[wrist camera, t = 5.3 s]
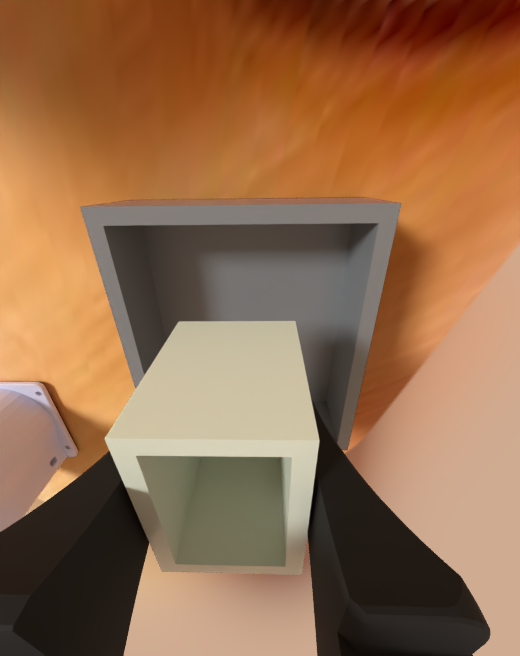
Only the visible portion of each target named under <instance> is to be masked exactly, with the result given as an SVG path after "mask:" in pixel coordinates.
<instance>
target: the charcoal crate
mask: <svg viewBox="0 0 520 656" xmlns="http://www.w3.org/2000/svg"><path fill="white" fill-rule="evenodd" d="M400 207H401V203H398V202H391V201H385V200H379V199H372V198H366V197H341V198H257V199H173V200H127V201H120V202H112V203H104V204H97V205H89V206H82V207H80V208H81V211H82V215H83V218H84V221H85V224H86V228H87V231H88V234H89V238H90V241H91V244H92V248H93V251H94V254H95V257H96V261H97V264H98V267H99V271H100V274H101V277H102V280H103V284H104V287H105V290H106V294H107V297H108V300H109V303H110V307H111V310H112V313H113V317H114V320H115V323H116V326H117V330H118V333H119V336H120V340H121V343H122V346H123V349H124V353H125V356H126V359H127V363H128V366H129V369H130V372H131V376H132V379H133V382H134V386H135V389H136V388H137V386H138V385H139V383H140V382H141V380H142V379H143V377H144V375H145V374H146V372H147V371H148V369H149V368H150V366H151V364H152V363H153V361H154V360H155V358H156V356H157V355H158V353H159V352H160V350H161V349H162V347H163V345H164V344H165V342H166V341H167V339H168V338H169V336H170V334H171V333H172V331H173V330H174V328H175V327H176V325H177V323H178V322H179V321H295V322H296V327H297V332H298V337H299V341H300V346H301V351H302V356H303V361H304V366H305V371H306V376H307V381H308V386H309V391H310V396H311V399H312V400H313V402H314V404H315V406H316V408H317V410H318V412H319V414H320V416H321V417H322V419H323V421H324V423H325V425H326V426H327V428H328V430H329V431H330V433H331V434H332V436H333V437H334V439H335V441H336V442H337V444H338V445H339V447H340V448H341V450H348V445H349V441H350V436H351V432H352V427H353V423H354V418H355V413H356V409H357V404H358V400H359V395H360V390H361V386H362V381H363V377H364V372H365V368H366V363H367V358H368V354H369V349H370V345H371V340H372V335H373V331H374V326H375V322H376V317H377V313H378V308H379V303H380V299H381V294H382V290H383V285H384V280H385V276H386V271H387V267H388V262H389V258H390V253H391V248H392V244H393V239H394V235H395V230H396V225H397V221H398V216H399V212H400Z"/></svg>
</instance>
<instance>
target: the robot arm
mask: <svg viewBox="0 0 520 656" xmlns="http://www.w3.org/2000/svg"><path fill="white" fill-rule="evenodd" d="M311 401H312V406H313V411H314V416H315V421H316V426H317V431H318V435H319V440H320V441H319V448H318V456H317V463H316V471H315V479H314V486H313V494H312V501H311V509H310V517H309V524H308V543H309V553H310V565H311V577H312V588H313V601H314V614H315V628H316V642H317V655H318V656H473V655H472V654H473V653H474V652H475V651H477V650H478V649H479V648H480V647H482V646H483V645H484V644H485V643H486V642H487V641H488V640H489V638H490V628H489V626H488V624H487V622H486V620H485V618H484V616H483V614H482V612H481V610H480V608H479V606H478V604H477V603H476V601H475V599H474V598H473V596H472V594H471V592H470V591H469V589H468V588H467V586H466V584H465V583H464V581H463V579H462V578H461V576H460V575H459V574H457V573H456V572H455V571H454V570H453V569H452V568H451V567H449V566H448V565H447V564H446V563H445V562H444V561H443V560H442V559H440V558H439V557H438V556H437V555H436V554H435V553H434V552H433V551H432V550H431V549H430V548H428V546H426V545H425V544H424V543H423V542H422V541H421V540H420V539H419V538H418V537H417V536H416V535H415V534H414V533H413V532H412V531H411V530H410V529H409V528H408V527H407V526H406V525H405V524H404V523H403V522H402V521H401V520H400V519H399V518H398V517H397V516H396V515H395V514H394V513H393V511H391V509H390V508H389V507H388V506H387V505H386V504H385V503H384V502H383V501H382V500H381V499H380V498H379V497H378V495H377V494H376V493H375V492H374V491H373V490H372V488H371V487H370V486H369V485H368V484H367V483H366V481H365V480H364V479H363V478H362V476H361V475H360V474H359V473H358V471H357V470H356V469H355V467H354V466H353V465H352V464H351V462H350V461H349V460H348V458H347V457H346V455H345V454H344V452H343V451H342V450H341V448H340V447H339V445H338V444H337V442H336V441H335V439H334V437H333V436H332V434H331V433H330V431H329V430H328V428H327V426H326V425H325V423H324V421H323V419H322V417H321V416H320V414H319V412H318V410H317V408H316V406H315V404H314V402H313V400H312V399H311ZM77 454H78V450H77V448H76V446H75V444H74V442H73V440H72V438H71V436H70V434H69V432H68V430H67V428H66V426H65V425H64V423H63V421H62V419H61V417H60V415H59V413H58V411H57V409H56V407H55V405H54V403H53V401H52V399H51V397H50V395H49V393H48V391H47V389H46V387H45V386H44V384H42V383H40V382H0V656H123V655H124V649H125V645H126V640H127V636H128V631H129V626H130V621H131V616H132V612H133V608H134V603H135V599H136V595H137V590H138V585H139V582H140V577H141V573H142V569H143V565H144V561H145V557H146V553H147V549H148V546H149V541H148V538H147V536H146V534H145V531H144V529H143V527H142V524H141V522H140V520H139V518H138V515H137V513H136V511H135V508H134V506H133V504H132V501H131V499H130V497H129V494H128V492H127V490H126V488H125V485H124V483H123V481H122V478H121V476H120V474H119V471H118V469H117V467H116V464H115V462H114V460H113V457H112V455H111V453H110V451H109V452H108V453H106V454H105V455H104V456H103V457H102V458H101V459H100V460H99V461H97V462H96V463H95V464H94V465H93V466H92V467H90V468H89V469H88V470H87V471H86V472H84V473H83V474H82V475H81V476H80V477H78V478H77V479H76V480H74V481H73V482H72V483H70V484H69V485H68V486H66V487H65V488H64V489H62V490H61V491H60V492H58V493H57V494H56V495H54V496H53V497H51V498H50V499H49V500H47V501H46V502H45V503H43V504H42V505H40V506H39V507H37V508H36V509H35V510H33V511H32V512H30V513H29V514H27V515H26V516H24V515H25V513H26V512H27V511H28V510H29V508H30V507H31V506H32V504H33V503H34V501H35V500H36V499H37V497H38V496H39V495H40V493H41V492H42V490H43V489H44V488H45V486H46V485H47V484H48V482H49V481H50V479H51V478H52V477H53V475H54V474H55V473H56V471H57V470H58V469H59V467H60V466H61V464H62V463H63V462H64V460H65V459H66V458H67V457H75V456H76V455H77ZM23 516H24V517H23ZM22 517H23V518H22Z"/></svg>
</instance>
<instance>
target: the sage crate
mask: <svg viewBox="0 0 520 656" xmlns="http://www.w3.org/2000/svg"><path fill="white" fill-rule="evenodd" d="M104 439H105V441H106V444H107V446H108V448H109V451H110V453H111V455H112V457H113V460H114V462H115V464H116V467H117V469H118V471H119V474H120V476H121V478H122V481H123V483H124V485H125V488H126V490H127V492H128V494H129V497H130V499H131V501H132V504H133V506H134V508H135V511H136V513H137V515H138V518H139V520H140V522H141V524H142V527H143V529H144V531H145V534H146V536H147V538H148V541H149V543H150V545H151V547H152V550H153V552H154V555H155V557H156V559H157V561H158V563H159V566H160V568H161V571H163V572H204V573H249V574H291V575H292V574H293V575H302V569H303V562H304V554H305V546H306V539H307V532H308V524H309V517H310V509H311V501H312V494H313V486H314V479H315V471H316V463H317V456H318V448H319V441H320V440H319V435H318V431H317V426H316V421H315V416H314V411H313V406H312V401H311V396H310V391H309V386H308V381H307V376H306V371H305V366H304V361H303V356H302V351H301V346H300V341H299V337H298V332H297V327H296V322H295V321H179V322H178V323H177V325H176V327H175V328H174V330H173V331H172V333H171V334H170V336H169V338H168V339H167V341H166V342H165V344H164V345H163V347H162V349H161V350H160V352H159V353H158V355H157V356H156V358H155V360H154V361H153V363H152V364H151V366H150V368H149V369H148V371H147V372H146V374H145V375H144V377H143V379H142V380H141V382H140V383H139V385H138V386H137V388H136V390H135V391H134V393H133V394H132V396H131V397H130V399H129V401H128V402H127V404H126V405H125V407H124V408H123V410H122V412H121V413H120V415H119V416H118V418H117V420H116V421H115V423H114V424H113V426H112V427H111V429H110V431H109V432H108V434H107V435H106V437H105V438H104Z"/></svg>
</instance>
